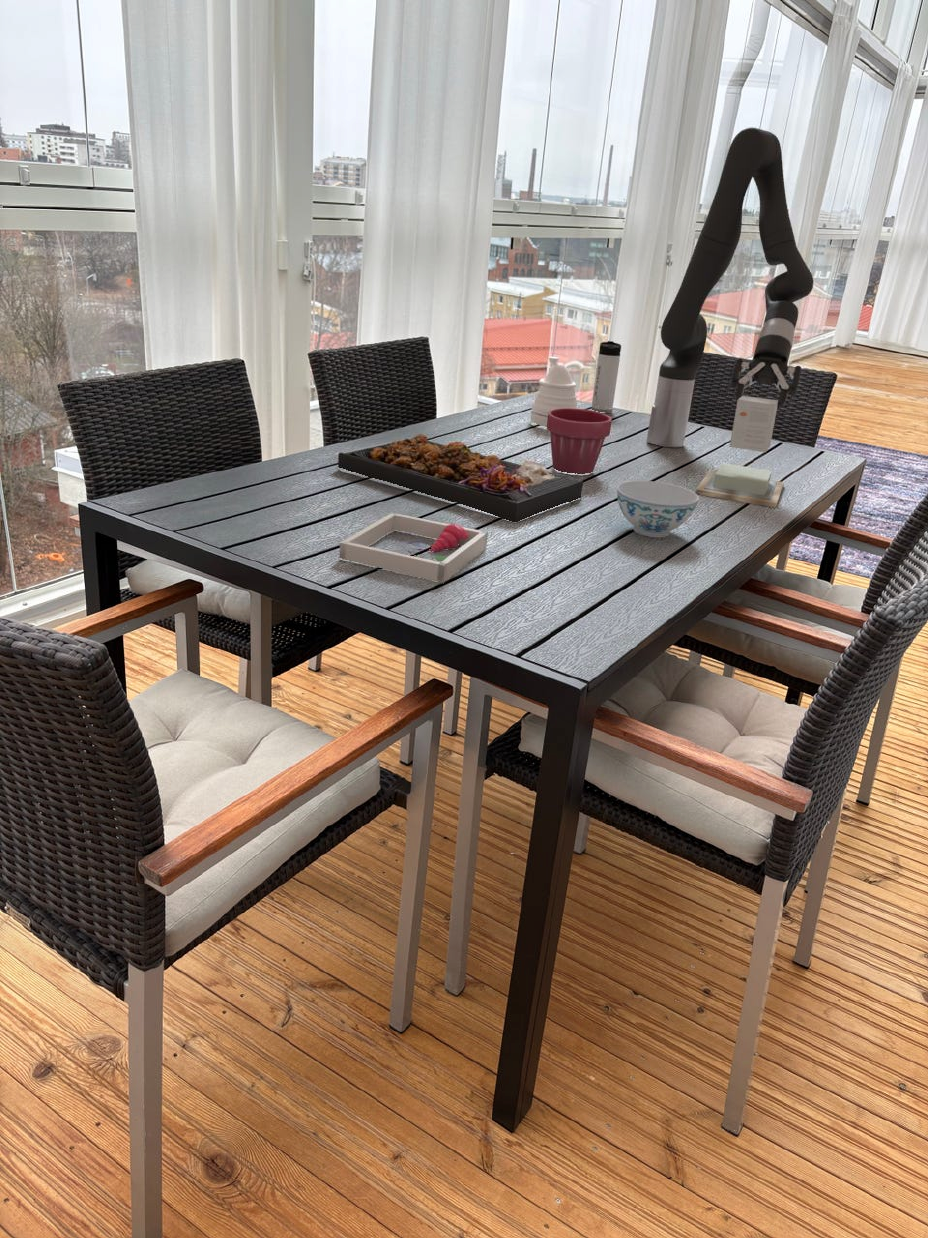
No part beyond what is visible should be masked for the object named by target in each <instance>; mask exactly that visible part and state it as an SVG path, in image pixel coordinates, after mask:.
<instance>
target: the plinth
mask: <svg viewBox="0 0 928 1238" xmlns="http://www.w3.org/2000/svg"><path fill="white" fill-rule="evenodd" d="M716 471H717V472H716V474H715V478H714V483H713V487H718V488H724V489H730V490H736V491H741V492H747V493H753V494H758V495H765V492H766V490H767V487H768V485H769V482H770V480H771V476H772V472H773V471H772V470H768V469H762V468H761V469H760V468H757V467H756V468H755V467H749V466H743V465H738V464H737V465H736V464H731V463H727V462H726V463H725V462H721V464H720V466H719V467H718V469H717V470H716Z"/></svg>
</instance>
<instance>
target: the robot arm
mask: <svg viewBox="0 0 928 1238" xmlns="http://www.w3.org/2000/svg"><path fill="white" fill-rule="evenodd" d="M732 139H733V140H732V141H731V144H730V145H729V148H728V150H727V154H726V158H725V160H724V165H723V169H722V172H721V175H720V178H719V179H720V180H719V182H718V184H717V185H718V186H717V189H716V191H715V194H714V197H713V199H712V203H711V205H710V208H709V210H708V213H707V216H706V219H705V221H704V223H703V226H702V228H701V231H700V233H699V236H698V238H697V240H696V244H695V247H694V249H693V251H692V255H691V257H690V260H689V263H688V264H687V267H686V270H685V273H684V276H683V277H682V278H683V279H682V281H681V284H680V287H679V289H678V292H677V293H676V296H675V297H674V298H673V299H674V300H673V301H672V304H671V306H669V310H668V312H667V313H666V315H665V318H664V320H663V322H662V325H661V329H660V339H661V342H662V344H663V346H664V347H665V348H666V349H668V350H669V351H668V354H667V357H666V358H665V360H664V361H663V362H662V363H661V365H660V367H659V371H658V379H657V383H656V390H655V396H654V405H652V406H651V411H650V417H649V423H648V429H647V430H648V431H647V436H646V443H648V444H653V445H654V444H655V446H658V445H659V447H665V448H681V447H684V443H685V439H686V432H687V427H688V422H689V418H690V417H689V416H690V411H691V405H692V399H693V394H694V387H695V381H696V376H697V373H698V371H699V369H700V366H701V364H702V361H703V356H704V352H705V348H706V347H705V346H706V342H707V336H708V324H707V321H706V318H705V317H704V316H703V315H702V314H701V311H702V309H703V306H704V304H705V301H706V300H707V298H708V295H710V293H711V291H712V290H714V287H715V286H716V284H717V283H718V282H719V281H720V280H721V278H722V277H723V275H724V274H725V272H726V271H727V269H728V268H729V266H730V263H731V262H732V260H733V256H735V252H736V250H737V247H738V244H739V241H740V238H741V234H742V228H743V227H742V226H743V225H742V224H743V205H744V201H745V197H746V194H747V191H748V189H749V186H750V184H751V181H752V179H753V181H754V183H755V186H756V189H757V192H758V197H759V199H758V200H759V214H758V232H759V238H760V242H761V246H762V252H763V253H764V258H765V262H766V263H767V265H769V266H779V265H783V266H785V268H786V271H785V272H783V273H781V274H778V275H776V276H774V277H772V278H771V279H770V280H769V281H768V282H767V285H766V286H765V289H764V298H765V300H764V301H765V310H766V311H765V316H764V319H763V324H762V327H761V329H760V331H759V335H758V338H757V342H756V346H755V349H754V353H753V357H752V359H751V361H749V362H747V361H743V359H742V358H738V359H737V360H736V362H735V366H734V369H733V371H732V374H731V378H730V387H731V388H732V387H733V388H735V387H736V392H735V394H734V395H735V396H734V399H735V401H736V402H737V401H738V399H739V398H740V397H742V396H744V392H745V389H747V387H750V386H751V385H754V384H755V383H756V384H760V385H762V384H765V385H770V386H773V385H774V386H775V387H776V389H777V390H779V392H780V393H779V397H778V399H777V400H778V405H777V410H780V409H781V408H784V407H785V406H786V405H785V404H786V402H787V401H786V400H787V397H788V396H789V395H793V396H795V395H797V393H798V388H799V383H800V382H799V381H800V375H801V370H802V367H801V366H800V365H796V366H795V367H789V366H788V362H789V361H790V360H789V358H790V355H791V351H792V348H793V343H794V338H795V330H796V327H797V323H798V318H799V309H798V306H797V305H796V304H795V302H797V301H800V300H803V298H806V297H807V296H809V295H810V294H811V292H812V290H813V288H814V277H813V274H812V272H811V270H810V268H809V267H808V265H807V263H806V262H805V260H804V258H803V256H802V254H801V252H800V251H799V249H798V246H797V243H796V238H795V236H794V235H795V234H794V232H793V226H792V224H791V219H790V215H789V209H788V203H787V197H786V189H785V187H786V186H785V179H784V169H783V166H784V165H783V155H782V154H783V153H782V146H781V142H780V140H779V137H777V135H776V134H774V133H773V132H771V131H768V130H765V129H762V128H759V127H758V128H757V127H751V126H750V127H745V128H742V130H740V131H739V132H738V133H737V134H736V135H735V136H734V137H733V138H732ZM745 370H748V372H747V373H746V374H745V375H744V376H743V377H741V378H740V376H741V373H743V372H745ZM787 375H789V378H791V380H792V383H791V385H789V384H788V383H787V381H786V379H785V377H786V376H787Z"/></svg>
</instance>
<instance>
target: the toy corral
mask: <svg viewBox="0 0 928 1238" xmlns="http://www.w3.org/2000/svg"><path fill="white" fill-rule="evenodd" d="M447 525H451V524H450V523H444V522H441V521H435V520H429V519H424V518H420V517H416V516H410V515H405V514H401V513H395V512H390V513H389V514H387V515H385V516H383V517H382V518H380V519H378V520H377V521H375V522H373V523H372V524H370V525H368V526H366V527H365V528H363V529H361V530H360V531H358V532H356V533H354V534H352V535H351V536H349V537H347V538H345V539H344V540H342V541H341V542H339V558H342V559H345V560H349V561H355V562H359V563H363V564H368V565H371V566H375V567H379V568H383V569H387V570H390V571H395V572H399V573H402V574H403V573H404V574H407V575H411V576H415V577H420V578H423V579H422V580H424V579H428V580H427V581H429V580H433V581H438V582H441V583H440V584H442V583H443V584H445V583H446V582H447V581H448V580H449V579H451V578H452V577H453V576H454V575H456V574H457V573H458V572H459V571H461V570H462V569H463V568H464V567H466V566H467V565H468V564H469V563H470V562H469V561H471V562H472V561H473V560H474V559H476V558H477V557H478V556H480V555H481V554H482V553H483V552H484V551H486V550H487V545H488V534H489V532H488V531H485V530H484V531H483V530H480V529H479V530H478V529H473V528H469V527H464V526H462V527H463V528H464V529H465V531H466V532H467V534H468V537H467V538H466V539H458V538H457V540H458V544H461V545H463V546H461V545H460V547H459V548H458V549H457V550H455V551H454V552H452V553H451V554H449V555H448V556H449V557H447V558H446V559H445V560H443V561H442V562H437V561H434V560H433V559H427V558H424V557H415V556H410V555H405V554H401V553H399V552H396V551H395V552H394V551H391V550H386V549H383V548H382V549H381V548H378V547H372V546H370V547H369V546H368V545H370V544H372V543H373V542H375V541H376V540H378V539H379V538H381V537H382V536H384V535H386V534H387V533H389V532H390V531H393V530H398V531H405V532H409V533H414V534H418V535H422V536H427V537H431V538H437V539H438V538H439V536H440V535H441V534H442V533H443V530H444V528H445V527H446V526H447ZM481 552H482V553H481ZM475 557H476V558H475ZM339 558H338V559H339ZM468 562H469V563H468ZM467 563H468V564H467ZM466 564H467V565H466ZM465 565H466V566H465ZM463 566H464V567H463ZM462 567H463V568H462ZM461 568H462V569H461ZM460 569H461V570H460ZM458 570H459V571H458ZM457 571H458V572H457ZM456 572H457V573H456ZM455 573H456V574H455ZM402 574H401V575H402ZM453 574H454V575H453ZM452 575H453V576H452ZM411 576H410V577H411ZM451 576H452V577H451ZM415 577H414V578H415ZM450 577H451V578H450ZM420 578H419V579H420ZM448 578H449V579H448ZM447 579H448V580H447ZM446 580H447V581H446ZM433 581H432V582H433ZM445 581H446V582H445ZM444 582H445V583H444Z"/></svg>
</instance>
